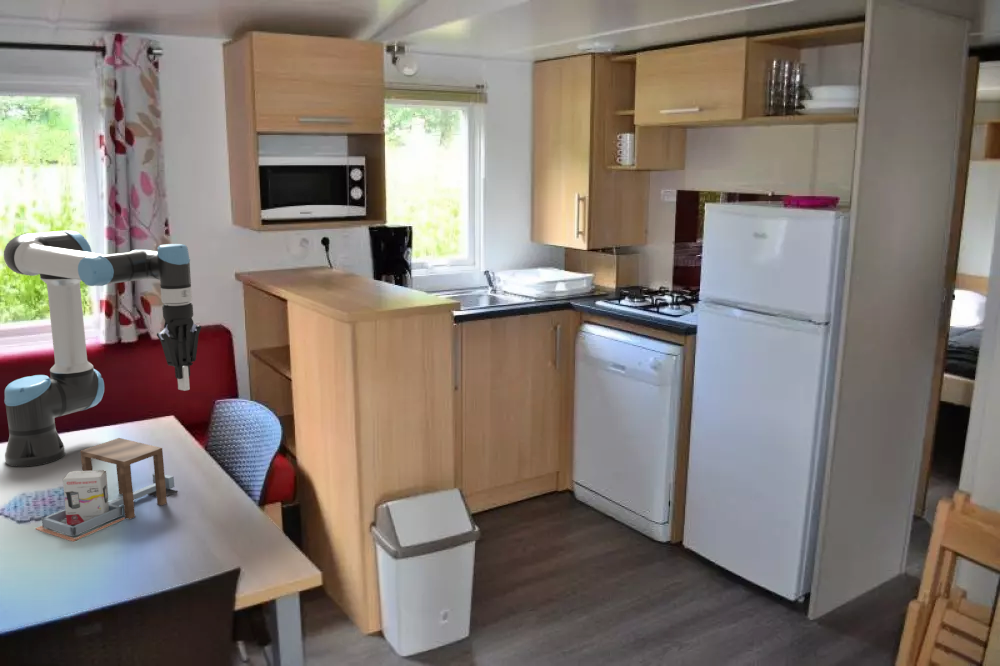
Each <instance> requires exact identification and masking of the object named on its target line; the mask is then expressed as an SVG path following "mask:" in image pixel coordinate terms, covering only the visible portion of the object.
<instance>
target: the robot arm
mask: <svg viewBox="0 0 1000 666" xmlns="http://www.w3.org/2000/svg"><path fill="white" fill-rule="evenodd" d="M4 247H5V248H4V250H3V259H4V262H5V264H6V266H7V267H8V268H9V269H10V271H12V272H14V273H16V274H19V275H24V276H31V277H32V276H33V277H34V276H38V275H39V279H40V280H42V282H43V283H45V284H46V287H47V288H46V289H47V297H48V298H47V299H48V307H49V316H50V317H49V319H50V328H51V337H52V347H53V355H54V364H53V365H52V366H51V368H50V369H49V373H50V374H49V375H50V377H49V376H48V375H45V374H35V375H31V376H30V375H29V376H24V377H21V378H17V379H15V380H13V381H11V382H10V383H8V384H7V386H6V387H5V389H4V400H3V401H4V404H5V409H6V417H7V424H8V434H9V437H8V441H7V445H6V449H5V453H4V459H5V464H6V465H8V466H11V467H16V468H17V467H19V468H20V467H22V468H23V467H34V466H35V467H36V466H40V465H45V464H49V463H52V462H56V461H57V460H60V459H61V458H63V457H64V456H65V454H66V449H65V445H64V443H63V441H62V439H61V437H60V435H59V433H58V431H57V429H56V423H55V422H56V421H55V418H59V417H62V416H66V415H70V414H73V413H77V412H82V411H86V410H88V409H91V408H93V407H95V406H97V405H98V404H99V403H100V402H101V401H102V399H103V396H104V393H105V382H104V378H103V377H102V374H101V373H100V371H98V370H97V369H95V368H94V365H93V364H92V363H91V362H90V361H89V360H88V355H87V342H86V334H85V333H86V332H85V322H84V311H83V304H82V303H83V301H82V292H81V282H83V283H84V284H85V285H86V286H88V287H103V286H106V285H111V284H112V285H113V284H119V283H124V282H133V281H134V282H135V281H140V280H148V279H150V280H159V282H160V283H159V284H160V296H161V297H160V299H161V303H162V304H163V305H162V307H161V308H162V309H161V311H162V318H163V319H164V325H163V330H161V332H159V331H158V332H157V333H156V337H157V338H158V340H159V341H160V344H161V346H162V349H163V353H164V357H165V361H166V363H167V365H168V366H172V367H174V375H175V379H177V389H178V390H180V391H184V392H185V391H186V392H187V391H189V390H190V388H191V387H190V376H191V366H193V364H194V362H196V361H197V353H198V344H199V336H200V335H199V334H200V333H201V330H202V326H201V325H197V324H195V323H194V320H193V316H194V307H193V306H194V305H193V303H192V302H193V295H192V294H193V293H192V292H193V291H192V280H191V279H192V278H191V264H190V263H191V259H190V255H189V248H188V246H187V245H186V244H183V243H182V244H181V243H166V244H160V245H158V246H157V250H150V249H146V248H145V249H144V248H142V249H134V250H133V249H132V250H131V251H128V252H127V251H126V252H119V253H109V254H107V253H106V254H105V253H96V252H93V251H92V248H91V246H90V243H89V242H88V240H87V239H86V238H85V237H84V236H83V234H81V233H80V232H78V231H75V230H57V231H56V230H54V231H53V230H52V231H43V232H32V233H31V232H27V233H23V234H19V235H17V236H15V237H13V238H12V239H10V240H9V241H8V242H7V243H6V245H5V246H4Z"/></svg>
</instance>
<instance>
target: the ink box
mask: <svg viewBox="0 0 1000 666" xmlns="http://www.w3.org/2000/svg"><path fill="white" fill-rule="evenodd" d="M92 470H93V469H92ZM107 473H108V472H107V470H104V469H99V470H98V469H97V470H93V471H82V470H73V471H69V472H68V473H67V474H66V475H65V476H64V477H63V478H62V483H63V484H62V485H63V497H64V498H63V499H64V505H65V506H64V507H65V508H64V509H66V524H68V525H71V526H75V525H77V524H80V523H82V522H85V521H87V520H89V519H92V518H94V517H97V516H99V515H101V514H104V513H106V512H109V502H110V501H109V490H108V476H107Z"/></svg>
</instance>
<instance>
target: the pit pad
mask: <svg viewBox="0 0 1000 666" xmlns="http://www.w3.org/2000/svg"><path fill="white" fill-rule="evenodd" d="M176 493H178V490H176V489H173V488H171V489H167V488H166V498H167V497H169V496H171V495H174V494H176ZM147 495H149V496H152V497H154V498H155V497H156V498H157V495H156V491H154V492H152V493H149V494H147Z"/></svg>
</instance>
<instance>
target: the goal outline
mask: <svg viewBox="0 0 1000 666" xmlns="http://www.w3.org/2000/svg"><path fill="white" fill-rule="evenodd" d="M125 519H126V518H125V516H124V517H123V516H122V517H120V518H118V519H116V520H113V521H112V522H109V523H107V524H104V525H102V526H100V527H99V526H98V527H97V528H94V529H92V530H90V531H89V532H88V531H87V532H84V534H81V535H79V536H77V537H74V536H70V535H67V534H64V533H61V532H58V531H55V530H52V529H49V528H46V527H43V526H42V525H40V526H38V527H36V528H35V530H37V531H40V532H43V533H45V534H49V535H52V536H54V537H58V538H61V539H63V540H67V541H70V542H75V541H78V540H81V539H82V537H83V538H85V537H87V536H89V535H91V534H95V533H96V532H99V531H101V530H103V529H105V528H107V527H110V526H112V525H115V524H116V523H119V522H122V521H124V520H125ZM58 522H60V521H58Z"/></svg>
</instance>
